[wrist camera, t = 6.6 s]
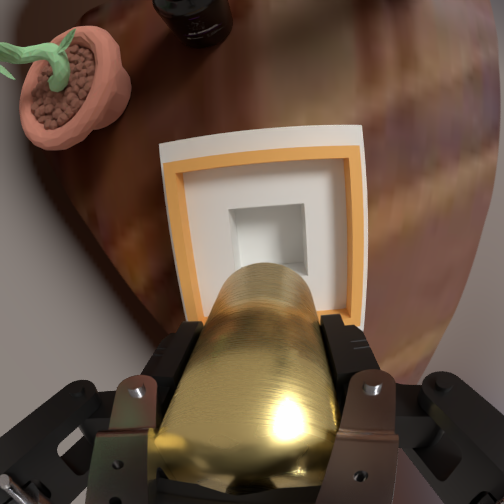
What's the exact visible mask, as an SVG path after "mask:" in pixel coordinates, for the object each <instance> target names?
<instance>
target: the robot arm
mask: <svg viewBox="0 0 504 504" xmlns="http://www.w3.org/2000/svg"><path fill="white" fill-rule="evenodd" d="M203 327H204V325H203V323H202V321H183V322H182V323H181V325H180V327H179V329H178V330H177V332H176V333H171V334H169V335H168V336H167V337H165V338H164V339H163V340H162V341H161V342H160V344H159V345H158V347H157V349H156V350H155V352H154V354H153V356H152V357H151V358H150V360H149V361H148V363H147V365H146V366H145V368H144V369H143V371H142V373H141V374H140V375H135V376H131V377H129V378H127V379H125V380H123V381H122V382H121V383H120V384H119V386H118V387H117V390H116V391H105V392H98V391H97V389H96V387H95V385H94V384H93V383H92V382H90V381H88V380H78V381H74V382H72V383H70V384H68V385H67V386H65V387H64V388H63V389H62V390H60V391H59V392H58V393H56V394H55V395H54V396H53V397H51V398H50V399H49V400H48V401H46V402H45V403H43V404H42V405H41V406H40V407H38V408H37V409H36V410H35V411H33V412H32V413H31V414H29V415H28V416H27V417H26V418H24V419H23V420H22V421H21V422H19V423H18V424H17V425H15V426H14V427H13V428H12V429H11V430H9V431H8V432H7V433H5V434H4V435H3V436H1V437H0V504H70V503H71V502H72V501H73V500H74V499H75V498H76V497H77V496H78V495H79V494H80V493H81V492H82V491H83V490H84V489H85V488H86V487H87V491H86V500H85V504H392V500H393V494H394V486H395V479H396V469H397V459H398V448H402V449H403V451H404V452H405V453H406V455H407V456H408V457H409V459H410V460H411V461H412V462H413V464H414V465H415V466H416V468H417V469H418V470H419V472H420V473H421V474H422V475H423V477H424V478H425V479H426V480H427V482H428V483H429V484H430V486H431V487H432V488H433V490H434V491H435V492H436V493H437V495H438V496H439V497H440V499H441V500H442V501H443V503H444V504H504V415H503V414H502V413H500V412H499V411H498V410H497V409H496V408H495V407H493V406H492V405H491V404H490V403H489V402H488V401H486V400H485V399H484V398H483V397H481V396H480V395H479V394H478V393H477V392H476V391H475V390H473V389H472V388H471V387H470V386H469V385H467V384H466V383H465V382H464V381H463V380H461V379H460V378H459V377H458V376H456V375H454V374H452V373H449V372H443V371H442V372H434V373H431V374H429V375H428V376H426V377H425V379H424V380H423V383H422V385H403V384H398V383H395V380H394V378H393V377H392V376H391V375H390V374H388V373H387V372H385V371H382V370H380V367H379V365H378V363H377V361H376V359H375V357H374V354H373V352H372V350H371V348H370V347H369V344H368V342H367V341H366V337H365V335H364V333H363V331H362V330H360V329H359V328H358V327H356V326H355V325H344V322H343V320H342V317H341V315H340V314H329V315H321V317H320V327H321V331H322V335H323V339H324V343H325V347H326V351H327V355H328V359H329V363H330V367H331V372H332V376H333V380H334V385H335V389H336V394H337V398H338V403H339V407H340V412H341V417H342V419H341V423H340V427H339V431H338V432H337V435H336V438H335V442H334V446H333V449H332V453H331V456H330V460H329V463H328V466H327V470H326V473H325V476H324V479H323V482H322V485H317V486H306V487H290V488H278V489H273V490H268V491H263V492H258V493H253V494H247V495H240V496H235V495H231V494H227V493H224V492H220V491H217V490H214V489H211V488H207V487H204V486H202V485H199V484H194V483H187V482H181V481H177V480H176V478H175V476H174V475H173V473H172V472H171V470H170V469H169V467H168V465H167V464H166V462H165V460H164V459H163V457H162V455H161V454H160V452H159V450H158V448H157V447H156V445H155V443H154V441H155V438H156V435H157V433H158V430H159V428H160V425H161V423H162V421H163V418H164V416H165V414H166V412H167V409H168V407H169V405H170V402H171V400H172V398H173V395H174V393H175V391H176V388H177V386H178V384H179V382H180V379H181V377H182V375H183V372H184V370H185V368H186V366H187V363H188V361H189V359H190V356H191V354H192V352H193V350H194V347H195V345H196V343H197V341H198V338H199V336H200V334H201V332H202V329H203ZM77 427H79V428H80V430H81V432H82V433H83V435H84V436H83V437H82V438H81V439H80V440H79V441H77V442H76V443H75V444H74V445H73V446H72V447H71V448H70V449H69V450H68V451H67V452H66V453H65V454H63V456H61V457H59V455H58V453H57V447H58V445H59V443H60V442H61V441H63V440H64V439H65V438H66V437H67V436H68V435H69V434H70V433H71V432H73V431H74V430H75V429H76V428H77Z"/></svg>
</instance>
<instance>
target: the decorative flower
mask: <svg viewBox="0 0 504 504" xmlns="http://www.w3.org/2000/svg"><path fill="white" fill-rule="evenodd" d="M0 61H3V62H9V63H12V64H24V63H30V62H33V64H32V66H31V68H30V70H29V72H28V74H27V76H26V79H25V82H24V84H23V88H22V92H21V96H20V107H19V111H20V118H21V124H22V127H23V130H24V132H25V135H26V136H27V137H28V139H30V141H31V142H32V143H33V144H34V145H36V146H38V147H40V148H42V149H45V150H66V149H68V148H70V147H72V146H73V145H75V144H77V143H79V142H81V141H83V140H84V139H85V138H86V137H87V136H88V135H89V134H90V132H91V131H92V130H98V129H101V128H104V127H107V126H108V125H110V124H111V123H113V122H114V121H116V120H117V119H118V118H119V117H120V116H121V115H122V113H123V111H124V110H125V108H126V106H127V104H128V101H129V99H130V95H131V87H132V86H131V81H130V77H129V75H128V73H127V72H126V70H125V69H124V68H123V67H122V64H121V56H120V48H119V45H118V44H117V43H116V42H115V40H114V39H113V38H112V37H111V35H110V34H109V33H108V32H107V31H105V30H103V29H101V28H99V27H96V26H81V27H74V28H72V29H70V30H68V31H66V32H64V33H62V34H60V35H58V36H57V37H56V38H55V39H53V40H52V41H51V42H50V43H43V44H39V45H36V46H29V47H24V48H23V47H17V46H14V45H11V44H8V43H1V42H0ZM0 72H1V73H2V74H4V75H5V76H7V77H9V78H11V79H14V77H13V76H12V75H11V73H9V72H8V71H7V70H6V68H4V67H3V66H1V65H0ZM14 80H15V79H14Z"/></svg>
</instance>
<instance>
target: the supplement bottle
mask: <svg viewBox="0 0 504 504" xmlns="http://www.w3.org/2000/svg"><path fill="white" fill-rule="evenodd" d="M152 2H153V6H154V9H155V10H156V12H157V13H158V14H159V15H160V17H161V18H162V19H163V21H164V22H165V23H166V24H167V26H168V27H169V28H170V29H171V31H172V32H173V33H174V35H175V36H176V37H177V38H178V40H179V41H180V42H182V43H183V44H184V45H186V46H189V47H192V48H206V47H210V46H213V45H215V44H217V43H219V42H221V41H222V40H223V39H225V38H226V37H227V36H228V34H229V33H230V31H231V29H232V26H233V17H232V13H231V10H230V6H229V2H228V0H153V1H152Z"/></svg>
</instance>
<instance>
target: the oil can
mask: <svg viewBox="0 0 504 504" xmlns="http://www.w3.org/2000/svg"><path fill="white" fill-rule="evenodd" d="M341 419H342V417H341V412H340V407H339V403H338V398H337V394H336V389H335V385H334V380H333V376H332V372H331V367H330V363H329V359H328V355H327V351H326V347H325V343H324V339H323V335H322V331H321V327H320V323H319V319H318V315H317V312H316V308H315V304H314V300H313V297H312V293H311V291H310V288H309V287H308V285H307V283H306V282H305V281H304V279H303V278H302V277H301V276H300V275H299V274H297V273H296V272H295V271H293V270H291V269H290V268H288V267H285V266H283V265H280V264H276V263H268V262H261V263H254V264H250V265H247V266H244V267H242V268H240V269H238V270H237V271H235V272H234V273H233V274H231V275H230V276H229V277H228V278H227V280H226V281H225V282H224V284H223V286H222V287H221V289H220V292H219V294H218V296H217V298H216V300H215V303H214V305H213V307H212V309H211V312H210V314H209V316H208V318H207V320H206V323H205V325H204V327H203V329H202V332H201V334H200V336H199V338H198V341H197V343H196V345H195V347H194V350H193V352H192V354H191V356H190V359H189V361H188V363H187V366H186V368H185V370H184V372H183V375H182V377H181V379H180V382H179V384H178V386H177V388H176V391H175V393H174V395H173V398H172V400H171V402H170V405H169V407H168V409H167V412H166V414H165V416H164V418H163V421H162V423H161V425H160V428H159V430H158V433H157V435H156V438H155V441H154V443H155V445H156V447H157V448H158V450H159V452H160V454H161V455H162V457H163V459H164V460H165V462H166V464H167V465H168V467H169V469H170V470H171V472H172V473H173V475H174V476H175V478H176V480H177V481H181V482H187V483H194V484H199V485H202V486H204V487H207V488H211V489H214V490H217V491H220V492H224V493H227V494H231V495H235V496H240V495H247V494H253V493H258V492H263V491H268V490H273V489H278V488H290V487H306V486H317V485H322V482H323V479H324V476H325V473H326V470H327V466H328V463H329V460H330V456H331V453H332V449H333V446H334V442H335V438H336V435H337V432H338V431H339V427H340V423H341Z"/></svg>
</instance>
